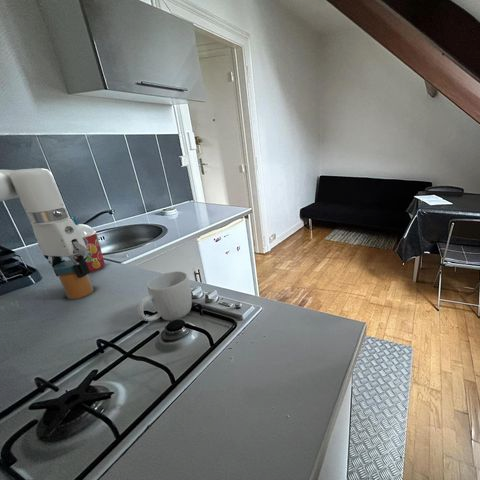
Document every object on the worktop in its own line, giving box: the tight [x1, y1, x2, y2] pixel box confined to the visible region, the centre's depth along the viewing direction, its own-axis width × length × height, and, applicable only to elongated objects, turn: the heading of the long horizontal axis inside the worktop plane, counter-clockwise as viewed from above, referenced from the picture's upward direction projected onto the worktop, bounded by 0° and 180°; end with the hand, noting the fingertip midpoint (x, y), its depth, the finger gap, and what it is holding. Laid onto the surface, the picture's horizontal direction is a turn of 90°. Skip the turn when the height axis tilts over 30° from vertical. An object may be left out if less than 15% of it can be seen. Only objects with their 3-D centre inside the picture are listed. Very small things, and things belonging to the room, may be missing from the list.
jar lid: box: [52, 259, 75, 275], centre depth 75 cm, size 7×7×2 cm
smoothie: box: [72, 216, 105, 273], centre depth 91 cm, size 8×8×20 cm
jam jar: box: [58, 272, 94, 300], centre depth 77 cm, size 6×6×10 cm
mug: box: [136, 271, 193, 322], centre depth 65 cm, size 13×9×10 cm
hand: (73, 274), depth 76 cm, fingers closed on jar lid, 6 cm apart
